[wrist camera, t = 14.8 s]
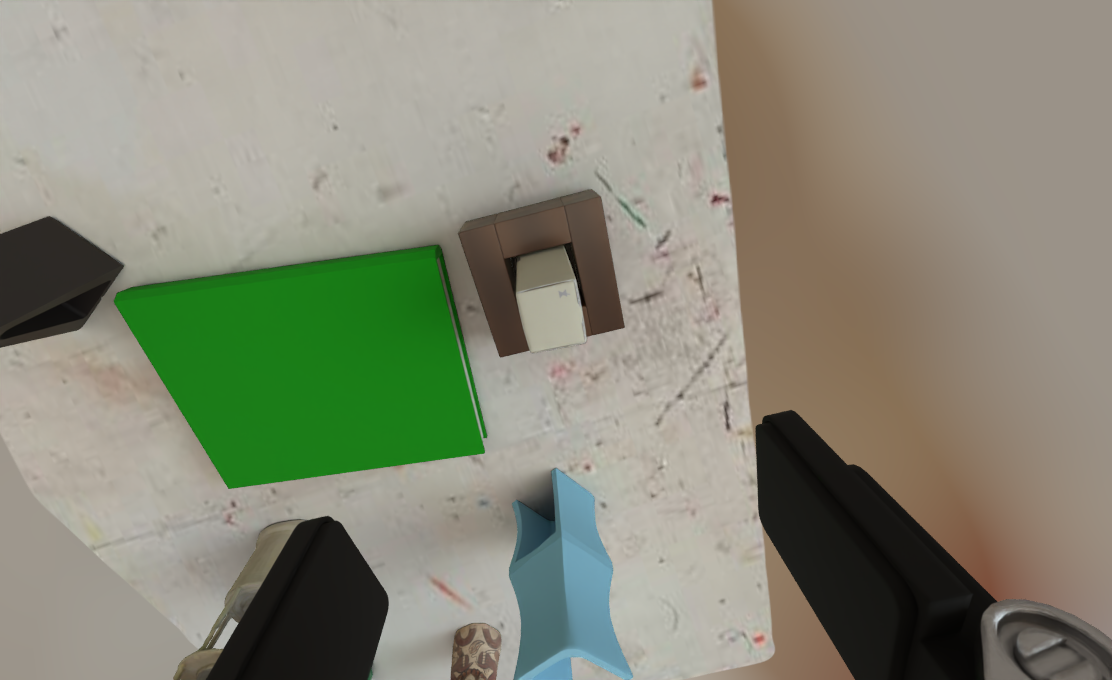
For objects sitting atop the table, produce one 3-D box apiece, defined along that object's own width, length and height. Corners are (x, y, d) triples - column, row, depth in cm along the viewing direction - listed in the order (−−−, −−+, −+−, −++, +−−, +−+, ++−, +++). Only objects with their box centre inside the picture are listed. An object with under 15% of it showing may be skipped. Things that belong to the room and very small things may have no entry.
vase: (555, 532, 57) (569, 716, 39) (511, 503, 54) (504, 687, 36) (599, 499, 55) (634, 677, 37) (555, 467, 52) (571, 643, 34)
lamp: (266, 574, 57) (31, 969, 30) (245, 502, 51) (-65, 907, 24) (347, 575, 58) (190, 958, 31) (335, 504, 52) (132, 895, 25)
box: (515, 243, 40) (511, 288, 29) (562, 233, 40) (576, 274, 28) (528, 296, 42) (529, 356, 31) (572, 287, 42) (589, 344, 31)
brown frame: (592, 188, 38) (600, 196, 34) (614, 307, 44) (624, 327, 39) (465, 221, 39) (457, 232, 34) (502, 335, 44) (499, 357, 40)
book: (486, 436, 49) (484, 453, 47) (245, 469, 49) (228, 488, 47) (439, 242, 40) (433, 250, 37) (138, 284, 40) (109, 295, 37)
